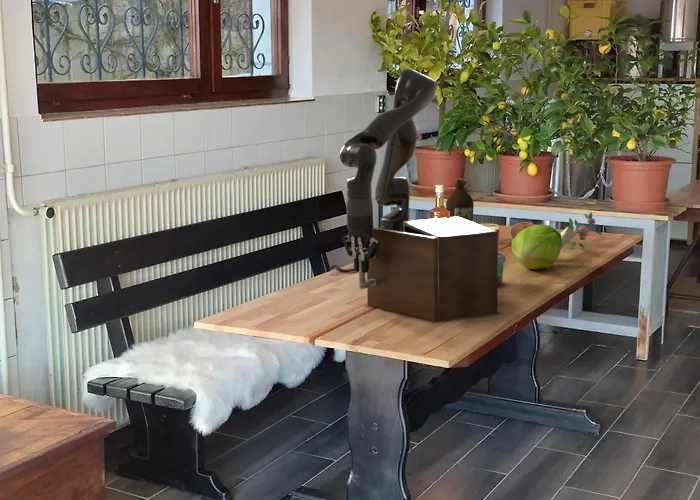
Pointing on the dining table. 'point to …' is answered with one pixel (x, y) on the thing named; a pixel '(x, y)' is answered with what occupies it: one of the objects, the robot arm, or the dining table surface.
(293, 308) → the dining table surface
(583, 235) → the flower vase
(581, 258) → the dining table surface
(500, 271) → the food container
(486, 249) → the cupboard
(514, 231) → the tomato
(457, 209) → the olive oil
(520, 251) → the lettuce
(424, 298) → the door
